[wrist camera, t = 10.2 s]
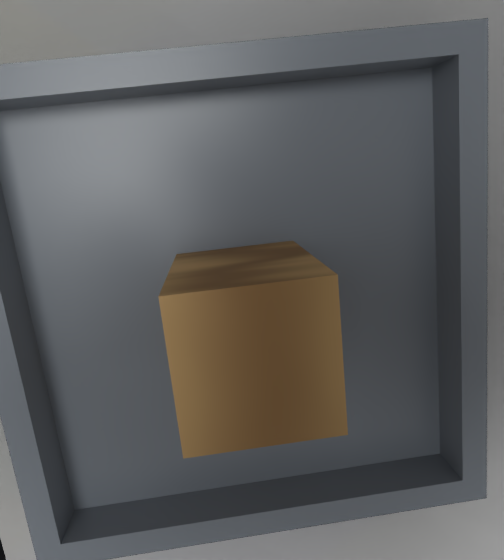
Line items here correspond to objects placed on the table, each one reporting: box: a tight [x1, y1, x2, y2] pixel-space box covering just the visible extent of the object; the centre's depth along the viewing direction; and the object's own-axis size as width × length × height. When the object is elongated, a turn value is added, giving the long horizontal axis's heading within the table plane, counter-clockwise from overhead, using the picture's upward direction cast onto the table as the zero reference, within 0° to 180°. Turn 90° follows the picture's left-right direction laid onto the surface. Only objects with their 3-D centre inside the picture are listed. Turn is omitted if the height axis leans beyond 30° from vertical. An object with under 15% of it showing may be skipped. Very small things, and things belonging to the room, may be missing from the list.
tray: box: [0, 18, 488, 560], centre depth 18 cm, size 18×18×2 cm
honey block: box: [158, 241, 348, 459], centre depth 15 cm, size 4×4×6 cm
